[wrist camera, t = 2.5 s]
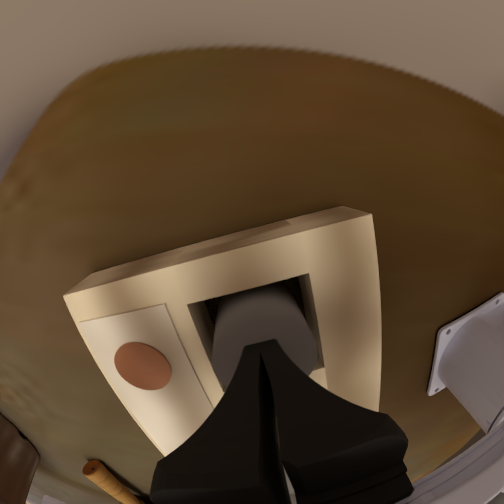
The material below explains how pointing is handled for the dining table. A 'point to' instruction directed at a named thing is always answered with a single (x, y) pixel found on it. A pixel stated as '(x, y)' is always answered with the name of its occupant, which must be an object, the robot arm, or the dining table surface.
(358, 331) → the button board
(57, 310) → the dining table surface
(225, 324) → the button
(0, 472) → the plant pot
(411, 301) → the dining table surface
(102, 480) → the kendama
